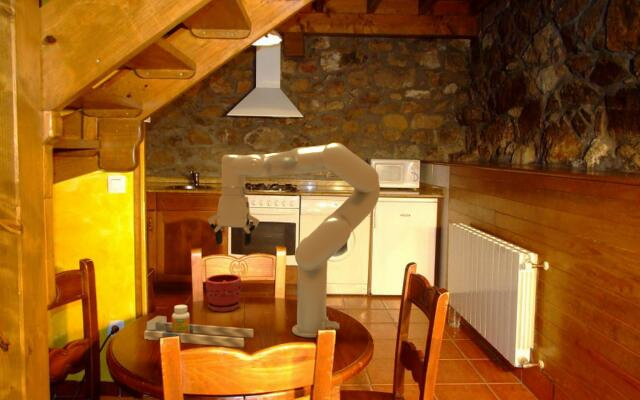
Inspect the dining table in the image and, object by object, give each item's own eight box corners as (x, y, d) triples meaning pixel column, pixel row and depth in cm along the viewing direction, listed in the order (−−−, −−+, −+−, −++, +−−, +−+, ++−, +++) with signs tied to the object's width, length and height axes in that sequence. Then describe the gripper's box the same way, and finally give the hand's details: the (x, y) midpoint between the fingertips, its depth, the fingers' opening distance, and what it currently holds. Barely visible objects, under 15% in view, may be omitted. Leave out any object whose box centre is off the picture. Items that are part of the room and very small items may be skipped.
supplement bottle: (175, 340, 159) (175, 309, 158) (169, 335, 164) (169, 305, 163) (192, 337, 162) (192, 307, 161) (186, 332, 166) (186, 303, 166)
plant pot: (206, 304, 200) (206, 274, 199) (240, 303, 202) (240, 273, 202) (205, 314, 187) (205, 281, 186) (241, 313, 190) (241, 280, 189)
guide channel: (253, 336, 163) (253, 321, 163) (242, 347, 154) (242, 331, 153) (160, 329, 169) (160, 314, 169) (144, 339, 160) (144, 323, 159)
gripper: (262, 192, 170) (262, 243, 171) (212, 191, 173) (212, 241, 174) (255, 193, 163) (255, 247, 164) (203, 192, 166) (203, 245, 167)
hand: (233, 244), depth 169 cm, fingers open, 9 cm apart
